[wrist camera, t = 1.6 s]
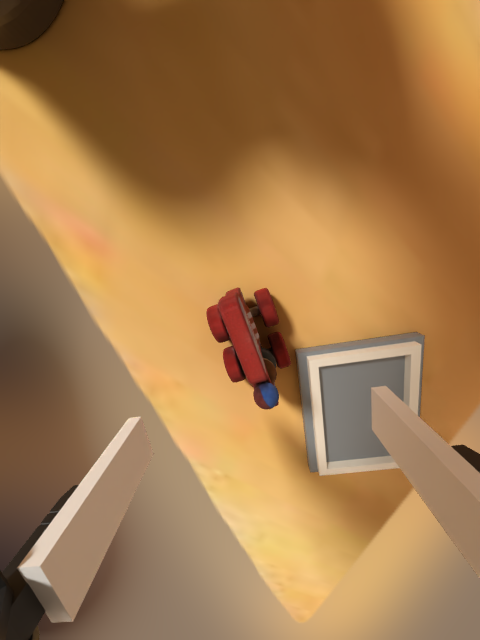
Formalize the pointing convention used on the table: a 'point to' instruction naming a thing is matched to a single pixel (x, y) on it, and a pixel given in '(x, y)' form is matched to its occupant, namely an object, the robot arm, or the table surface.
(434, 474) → the robot arm
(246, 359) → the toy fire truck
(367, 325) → the table surface
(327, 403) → the base board
